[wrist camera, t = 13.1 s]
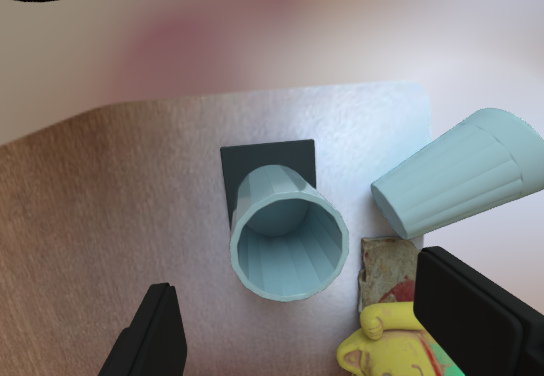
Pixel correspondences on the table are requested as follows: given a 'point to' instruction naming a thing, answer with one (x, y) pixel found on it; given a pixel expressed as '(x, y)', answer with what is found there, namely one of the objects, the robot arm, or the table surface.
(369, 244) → the stone artifact
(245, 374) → the table surface
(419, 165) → the cup
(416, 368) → the figurine
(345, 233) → the container
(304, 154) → the mat
